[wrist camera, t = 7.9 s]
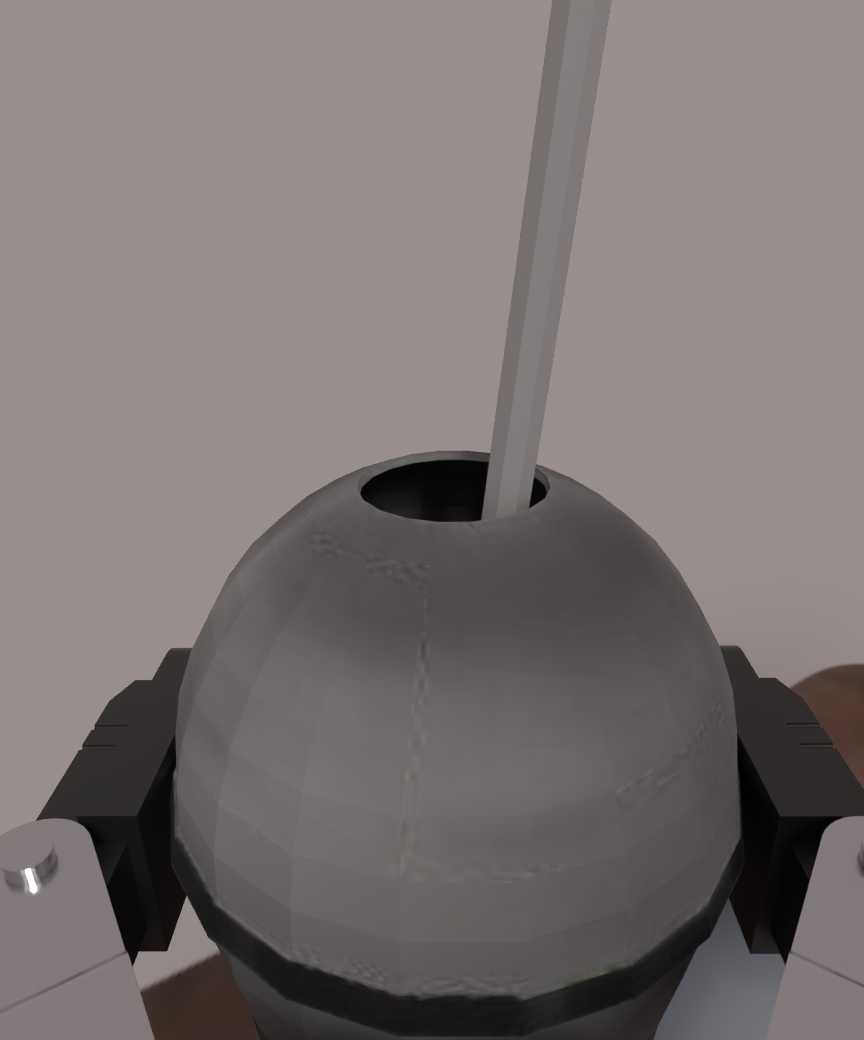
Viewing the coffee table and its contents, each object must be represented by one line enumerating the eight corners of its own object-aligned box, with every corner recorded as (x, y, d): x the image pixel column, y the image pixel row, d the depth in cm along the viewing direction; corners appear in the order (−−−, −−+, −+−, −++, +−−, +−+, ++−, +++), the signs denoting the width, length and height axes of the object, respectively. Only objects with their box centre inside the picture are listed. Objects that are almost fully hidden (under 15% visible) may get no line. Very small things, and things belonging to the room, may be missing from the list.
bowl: (1024, 980, 30) (1062, 896, 29) (1046, 1461, 19) (1111, 1375, 17) (651, 825, 38) (662, 750, 36) (509, 1110, 26) (514, 1023, 25)
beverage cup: (388, 989, 20) (337, 65, 11) (688, 1140, 17) (915, 19, 8) (175, 1344, 14) (-240, -30, 6) (580, 1680, 11) (980, -301, 2)
